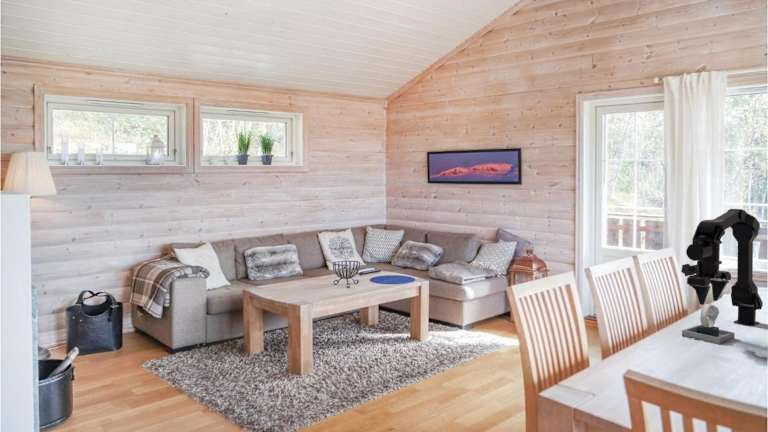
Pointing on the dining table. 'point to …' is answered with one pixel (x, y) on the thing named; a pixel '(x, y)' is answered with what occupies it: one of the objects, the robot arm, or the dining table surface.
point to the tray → (722, 337)
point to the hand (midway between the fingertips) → (708, 302)
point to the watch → (708, 320)
